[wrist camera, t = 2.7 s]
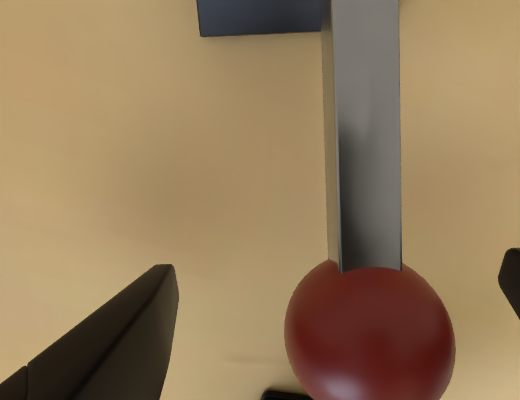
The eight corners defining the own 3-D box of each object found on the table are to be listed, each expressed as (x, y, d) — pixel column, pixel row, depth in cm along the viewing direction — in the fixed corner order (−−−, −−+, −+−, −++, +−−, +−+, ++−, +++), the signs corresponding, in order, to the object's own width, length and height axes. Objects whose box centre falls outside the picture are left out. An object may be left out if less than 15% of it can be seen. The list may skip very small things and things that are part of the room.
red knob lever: (409, 361, 8) (497, 472, 5) (282, 367, 8) (296, 482, 5) (402, -297, 7) (511, -653, 4) (254, -291, 7) (251, -643, 4)
